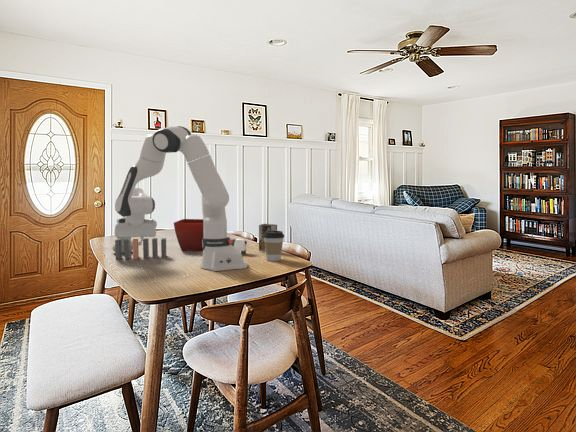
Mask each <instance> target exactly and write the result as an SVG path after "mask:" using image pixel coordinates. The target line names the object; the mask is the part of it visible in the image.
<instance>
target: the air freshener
mask: <svg viewBox="0 0 576 432" xmlns="http://www.w3.org/2000/svg"><path fill="white" fill-rule="evenodd" d="M116 239H121V241H122V255H125V252H124V239H128V237H116ZM112 251H113V252H115V243H114V245H112ZM130 251H131V252H133V246H130Z"/></svg>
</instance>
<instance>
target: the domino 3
mask: <svg viewBox="0 0 576 432" xmlns="http://www.w3.org/2000/svg"><path fill="white" fill-rule="evenodd" d="M132 242H133V250H132V259H133V260H135V259H136V260H138V258H139V257H140V256H139V255H140V251H139V245H138V242H139V237H133V239H132Z"/></svg>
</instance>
